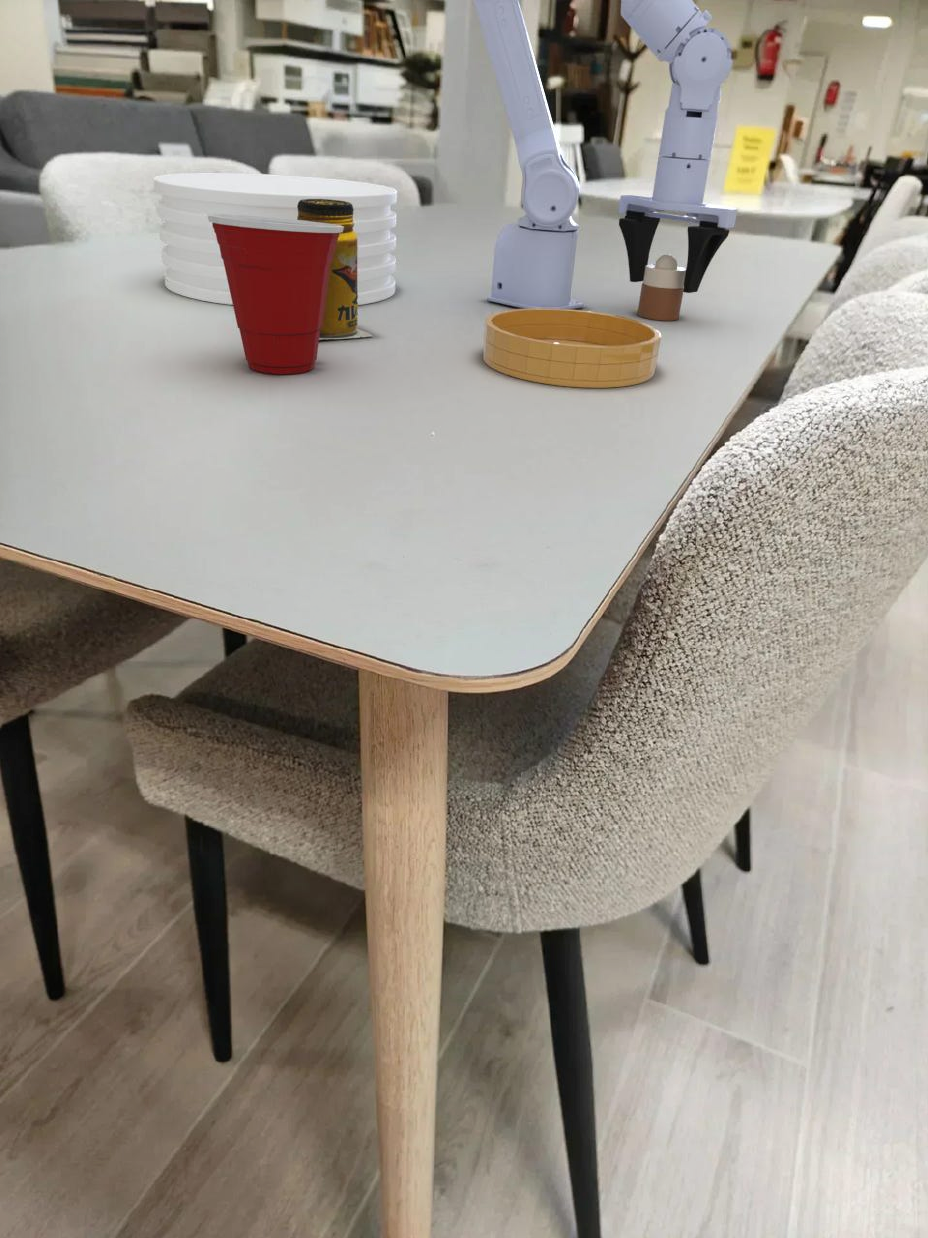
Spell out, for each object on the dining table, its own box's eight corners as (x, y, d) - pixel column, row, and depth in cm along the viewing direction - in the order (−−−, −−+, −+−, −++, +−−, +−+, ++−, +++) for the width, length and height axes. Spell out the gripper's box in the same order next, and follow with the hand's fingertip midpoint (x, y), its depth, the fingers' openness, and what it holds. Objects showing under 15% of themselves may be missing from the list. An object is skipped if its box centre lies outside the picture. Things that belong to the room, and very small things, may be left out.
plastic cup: (365, 360, 78) (366, 215, 72) (309, 389, 69) (304, 226, 63) (260, 344, 81) (252, 203, 75) (192, 370, 72) (177, 212, 66)
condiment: (373, 337, 86) (374, 205, 80) (294, 343, 82) (289, 204, 76) (340, 322, 91) (339, 197, 85) (265, 327, 87) (258, 196, 81)
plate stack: (384, 315, 95) (385, 201, 90) (131, 299, 95) (116, 183, 89) (403, 274, 120) (405, 183, 114) (201, 261, 119) (193, 168, 113)
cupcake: (629, 314, 104) (638, 252, 101) (650, 310, 108) (660, 250, 104) (665, 322, 102) (676, 259, 98) (686, 317, 105) (697, 256, 101)
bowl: (447, 358, 80) (449, 319, 79) (549, 336, 91) (553, 302, 90) (591, 398, 72) (597, 356, 70) (685, 369, 82) (692, 331, 81)
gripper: (760, 163, 94) (733, 293, 101) (650, 153, 103) (632, 274, 110) (727, 162, 90) (702, 299, 97) (615, 152, 98) (599, 278, 105)
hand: (662, 286), depth 103 cm, fingers open, 7 cm apart
